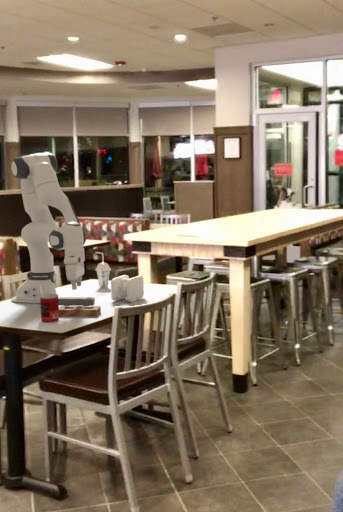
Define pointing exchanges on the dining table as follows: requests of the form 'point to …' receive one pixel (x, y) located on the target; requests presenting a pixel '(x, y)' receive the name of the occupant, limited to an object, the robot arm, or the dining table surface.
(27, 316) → the dining table surface
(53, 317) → the canned food
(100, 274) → the cup with straw
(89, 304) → the gray bar with feet
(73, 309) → the wooden tray
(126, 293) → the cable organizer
